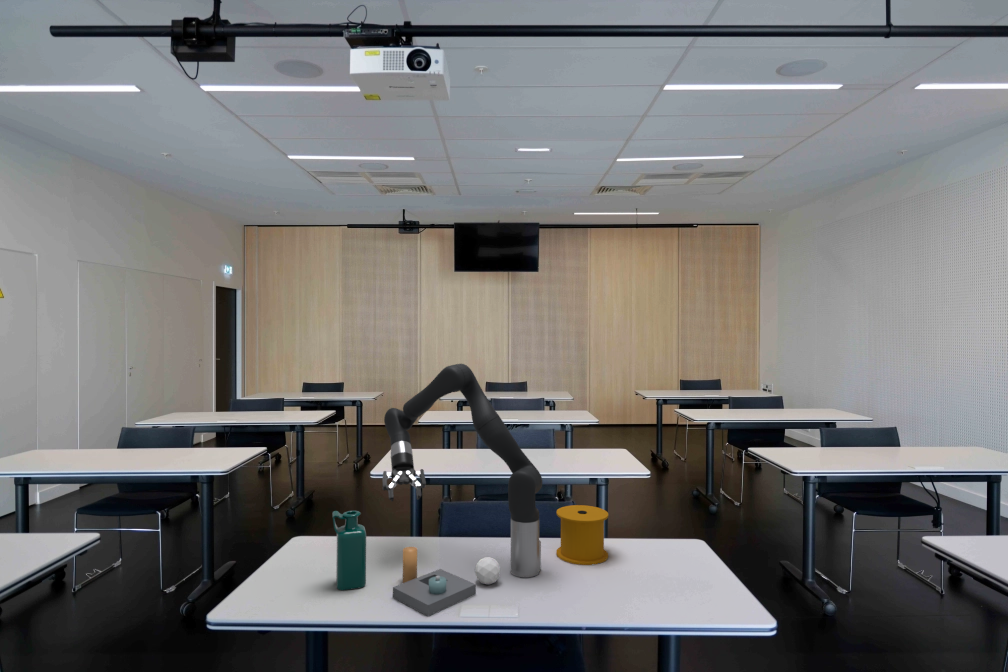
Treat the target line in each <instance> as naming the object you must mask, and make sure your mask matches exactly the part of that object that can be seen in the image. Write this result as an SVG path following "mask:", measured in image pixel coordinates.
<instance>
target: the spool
mask: <svg viewBox="0 0 1008 672" xmlns="http://www.w3.org/2000/svg"><path fill="white" fill-rule="evenodd" d="M556 516H557V517H558V518H559V519H560V546H559V547H558V548H557V549H556V551H555V552H556V553H555V555H556V557H557V558H558V559H560V560H561V561H563V562H565V563H569V564H572V565H578V566H580V565H581V566H593V565H592V564H594V565H599V564H602V563H605V562H606V561H607V560H608V559H609V553H608V551H607V550H606V549H605V521H607V519H608V518H609V512H608V511H607V510H605V509H603V508H601V507H597V506H591V505H586V504H585V505H583V504H582V505H580V504H577V505H576V504H575V505H574V504H573V505H565V506H562V507H559V508H558V509H556ZM598 563H599V564H598Z"/></svg>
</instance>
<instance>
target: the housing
mask: <svg viewBox="0 0 1008 672" xmlns="http://www.w3.org/2000/svg"><path fill="white" fill-rule="evenodd" d="M475 595H477V584H476V583H474V582H472V581H470V580H468V579H465V578H463V577H460V576H458V575H456V574H453V573H450V572H449V571H446V570H444V569H441V568H439V569H437V570H434V571H431V572H428V573H426V574H423V575H421V576H417V578H415V579H413V580H410V581H407V582H405V583H403V582H402V583H400V584H398V585H394V586H392V599H394V600H397V601H398V602H400V603H403V604H404V605H405V606H407V607H409V608H412V609H414V610H415V611H417V612H419V613H421V614H423V615H425V616H426V617H430V616H432V615H434V614H437V613H439V612H441V611H443V610H445V609H447V608H449V607H452V606H454V605H456V604H458V603H460V602H462V601H465V600H467V599H469V598H471V597H473V596H475Z"/></svg>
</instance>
